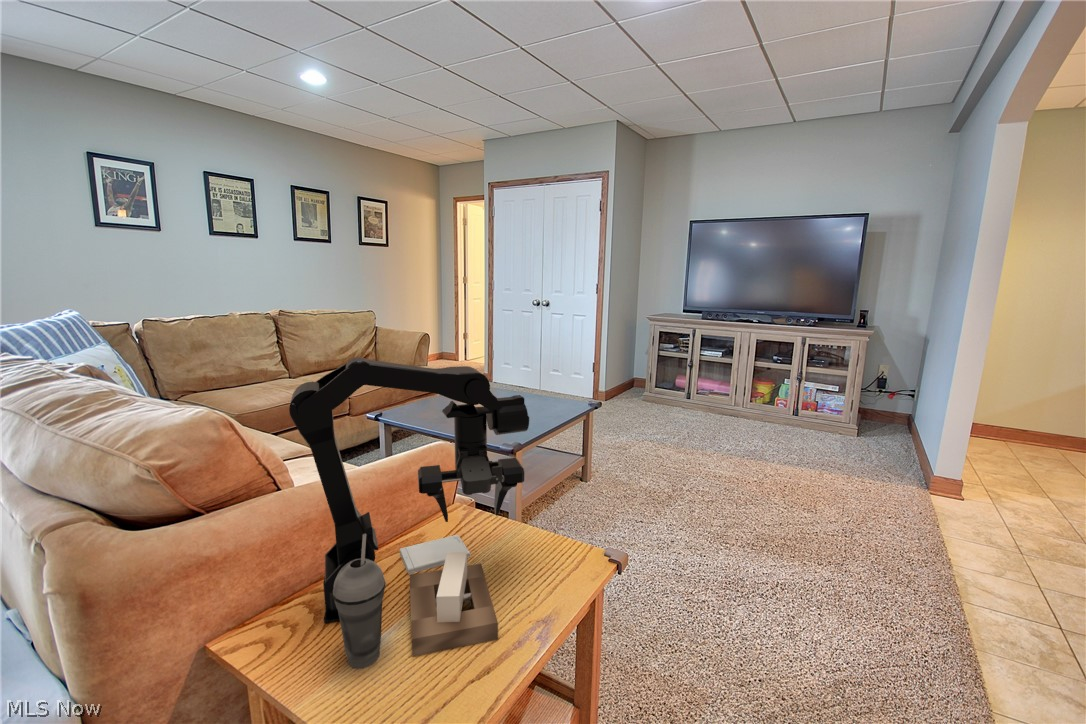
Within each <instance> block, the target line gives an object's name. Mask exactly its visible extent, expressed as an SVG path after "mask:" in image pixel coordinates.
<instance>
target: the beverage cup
mask: <svg viewBox="0 0 1086 724" xmlns="http://www.w3.org/2000/svg"><path fill="white" fill-rule="evenodd" d="M365 547H366V534H363V539H362V553H361V558H360V559H355V560H353V561H350V562H349V563H347V564H346V565H345V566H344V567H343V568H342V569H341V570H340V571H339V573H338V575H337V577H336V579H335V582H334V589H333V592H332V593H333V598H334V601H335V605H336V608H337V609H338V613H339V619H340V620H339V625H340V630H341V635H342V641H343V647H344V652H345V656H346V658H347V659H346V660H347V664H348V666H349V667H351V668H352V669H357V670H358V669H359V670H361V669H365V668H368V667H370V666H372V665H373V664H374V663H375V662H377V660H378V659H379V657H380V649H381V643H382V641H381V640H382V619H383V599H384V596H385V588H386V585H387V583H386V578H385V576H384V572H383V570H382V568H381V567H380V566H379V565H378V563H377V562H375V561H372V560H369V559H365Z"/></svg>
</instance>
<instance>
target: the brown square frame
mask: <svg viewBox="0 0 1086 724" xmlns="http://www.w3.org/2000/svg"><path fill="white" fill-rule="evenodd" d="M442 572H443V569H438V570H431V571H425V572H416V573H412V574H408V575H409V598H410V600H409V601H410V624H411V625H410V626H411V650H412V651H411V654H412V655H411V656H412V657H413V658H414V657H418V656H422V655H428V654H432V653H436V652H443V651H448V650H452V649H458V648H463V647H467V646H472V645H476V644H481V643H487V642H491V641H496V640H498V639H499V634H498V633H499V624H498V623H499V622H498V618H497V615H496V611H495V607H494V603H493V601H492V597H491V594H490V590H489V587H488V583H487V580H486V576H485V572H484V568H483V565H482V563H476V564H469V565H468V564H467V579H466V586H465V592H464V598H463V603H464V602H469V604H470V608H471V609H467V610H463V611H461V617H460V622H437V601H436V596H437V592H438V588H439V584H440V580H441V576H442Z"/></svg>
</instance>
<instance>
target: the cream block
mask: <svg viewBox="0 0 1086 724" xmlns="http://www.w3.org/2000/svg"><path fill="white" fill-rule="evenodd" d="M467 566H468V558H467V552H447V555H446V559H445V563H444V565H443V568H442V570H443V572H442V576H441V580H440V584H439V588H438V592H437V596H436V601H437V607H436V610H437V622H460V617H461V611H462V610H463V604H464V602H463V598H464V592H465V586H466V579H467Z"/></svg>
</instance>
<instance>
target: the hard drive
mask: <svg viewBox="0 0 1086 724" xmlns="http://www.w3.org/2000/svg"><path fill="white" fill-rule="evenodd" d="M447 552H467V559H469V558H471V552H470V551H469V549H468V547H467V546H466V545H465V543H464V541H463V540H462V538H461V537H460V536H459V534H454V535H450V536H445V537H442V538H437V539H433V540H429V541H425V542H420V543H417V544H413V545H410V546H405V547H401V548H399V552H398V553H399V555H400V557H401V560H402V562H403V565H404V568H405V570H406V572H407V574H408V575H411V574H416V573H420V572H422V571H426V570H430V569H433V568H438V567H440V566H444V563H445V559H446V555H447Z"/></svg>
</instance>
